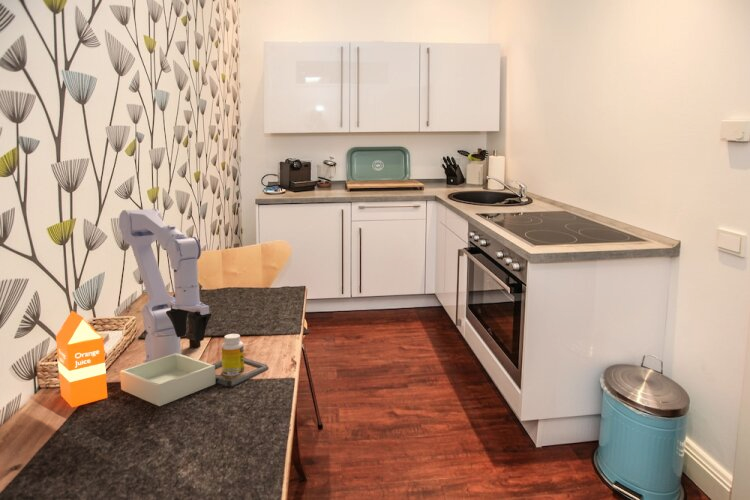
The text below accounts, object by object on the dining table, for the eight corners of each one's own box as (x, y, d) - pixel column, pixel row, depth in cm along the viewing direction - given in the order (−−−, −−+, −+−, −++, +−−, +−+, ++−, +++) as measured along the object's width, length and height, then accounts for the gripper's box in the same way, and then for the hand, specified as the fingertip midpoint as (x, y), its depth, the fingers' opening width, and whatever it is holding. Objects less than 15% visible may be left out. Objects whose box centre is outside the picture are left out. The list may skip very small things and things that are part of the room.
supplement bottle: (244, 376, 137) (242, 338, 136) (221, 378, 136) (220, 339, 135) (244, 368, 143) (243, 332, 141) (223, 370, 142) (221, 333, 140)
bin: (121, 389, 129) (119, 370, 128) (177, 370, 141) (176, 352, 141) (159, 406, 120) (158, 386, 119) (215, 383, 133) (214, 365, 132)
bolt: (202, 352, 155) (199, 302, 153) (184, 352, 155) (181, 302, 152) (205, 345, 161) (203, 297, 159) (188, 346, 160) (186, 297, 158)
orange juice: (95, 386, 131) (89, 307, 128) (108, 397, 124) (102, 314, 121) (60, 395, 125) (52, 313, 122) (71, 407, 119) (63, 321, 116)
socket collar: (195, 375, 138) (195, 370, 138) (236, 360, 149) (236, 355, 148) (230, 387, 130) (230, 382, 130) (270, 371, 141) (270, 365, 141)
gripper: (155, 285, 134) (159, 338, 136) (190, 291, 126) (193, 347, 128) (180, 281, 140) (183, 331, 142) (214, 286, 131) (218, 340, 133)
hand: (190, 338), depth 135 cm, fingers open, 7 cm apart
